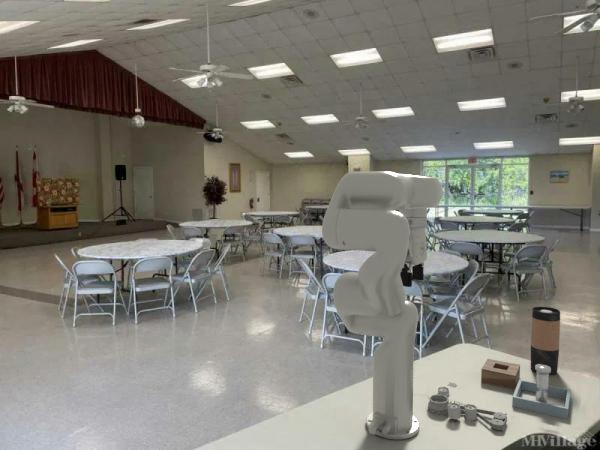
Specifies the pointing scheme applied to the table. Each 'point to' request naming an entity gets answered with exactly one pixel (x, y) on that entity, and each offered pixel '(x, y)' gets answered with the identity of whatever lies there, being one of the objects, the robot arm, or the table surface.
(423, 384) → the table surface
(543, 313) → the travel mug
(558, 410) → the pin tray
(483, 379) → the block
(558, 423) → the table surface
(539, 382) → the lock pin
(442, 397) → the pulley system
